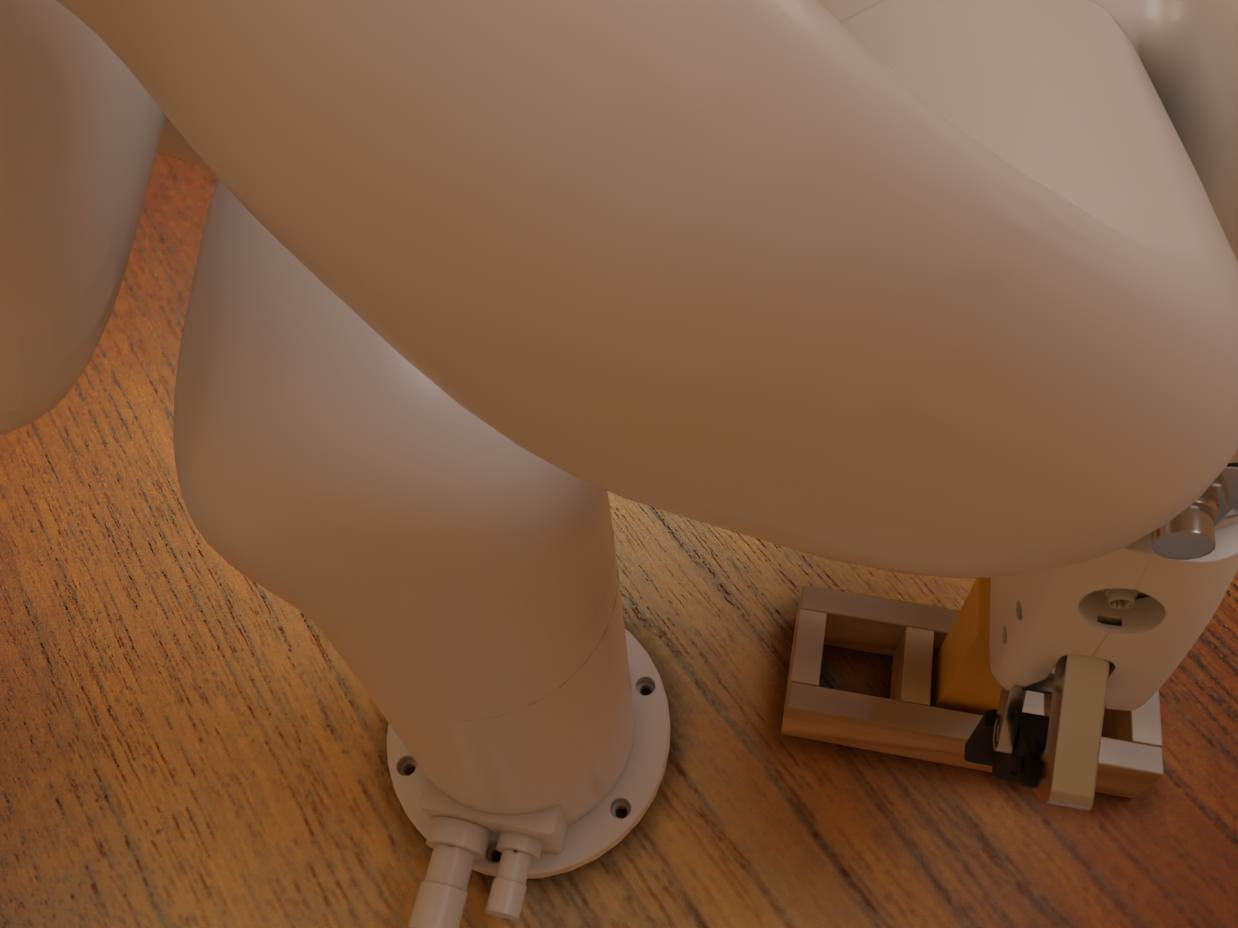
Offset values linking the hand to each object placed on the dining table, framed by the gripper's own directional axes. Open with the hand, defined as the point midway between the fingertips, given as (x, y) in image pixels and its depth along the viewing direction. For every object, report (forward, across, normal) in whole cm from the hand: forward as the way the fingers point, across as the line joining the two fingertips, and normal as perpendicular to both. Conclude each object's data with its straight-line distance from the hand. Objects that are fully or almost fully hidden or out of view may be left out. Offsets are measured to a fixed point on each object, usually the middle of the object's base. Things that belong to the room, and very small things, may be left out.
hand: (1009, 640), depth 42 cm
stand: (+7, 0, +1) cm, 7 cm away
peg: (+7, 0, +1) cm, 7 cm away
